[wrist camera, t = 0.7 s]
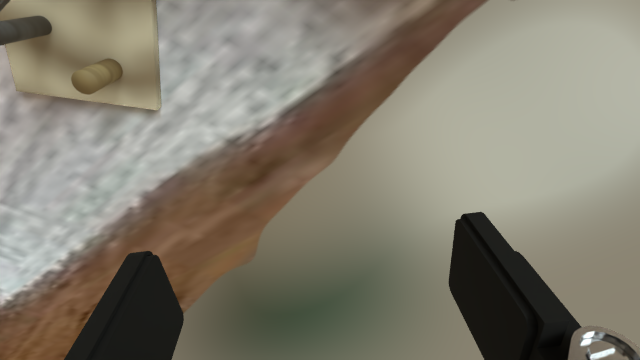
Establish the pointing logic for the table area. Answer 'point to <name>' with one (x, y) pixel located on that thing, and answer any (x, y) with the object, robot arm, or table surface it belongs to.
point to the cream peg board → (84, 49)
